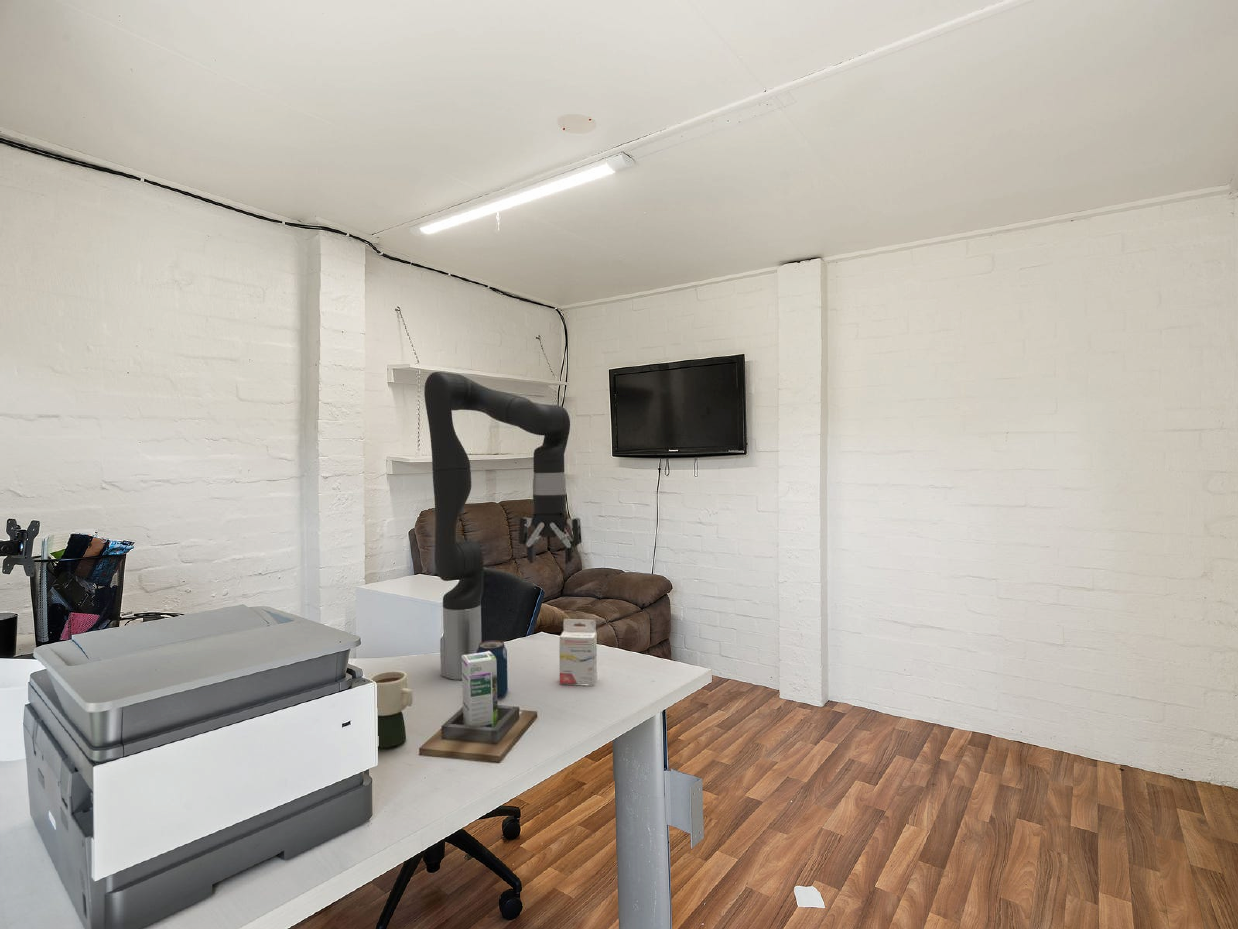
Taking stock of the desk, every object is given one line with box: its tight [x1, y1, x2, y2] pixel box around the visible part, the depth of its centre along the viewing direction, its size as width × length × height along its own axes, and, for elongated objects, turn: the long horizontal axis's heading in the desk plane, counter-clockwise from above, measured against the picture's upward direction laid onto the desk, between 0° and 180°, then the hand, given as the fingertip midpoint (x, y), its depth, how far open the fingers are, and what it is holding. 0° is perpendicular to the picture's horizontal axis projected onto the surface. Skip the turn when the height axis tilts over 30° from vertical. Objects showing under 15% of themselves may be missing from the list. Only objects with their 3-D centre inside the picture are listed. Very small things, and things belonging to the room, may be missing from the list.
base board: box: [418, 704, 538, 763], centre depth 129 cm, size 16×20×4 cm
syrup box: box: [461, 651, 498, 728], centre depth 129 cm, size 6×6×14 cm
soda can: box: [476, 639, 509, 700], centre depth 149 cm, size 7×7×12 cm
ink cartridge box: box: [559, 618, 598, 686], centre depth 157 cm, size 9×5×15 cm, turn 84°
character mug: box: [368, 670, 413, 748], centre depth 126 cm, size 11×7×13 cm, turn 70°
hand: (550, 563), depth 149 cm, fingers open, 8 cm apart
